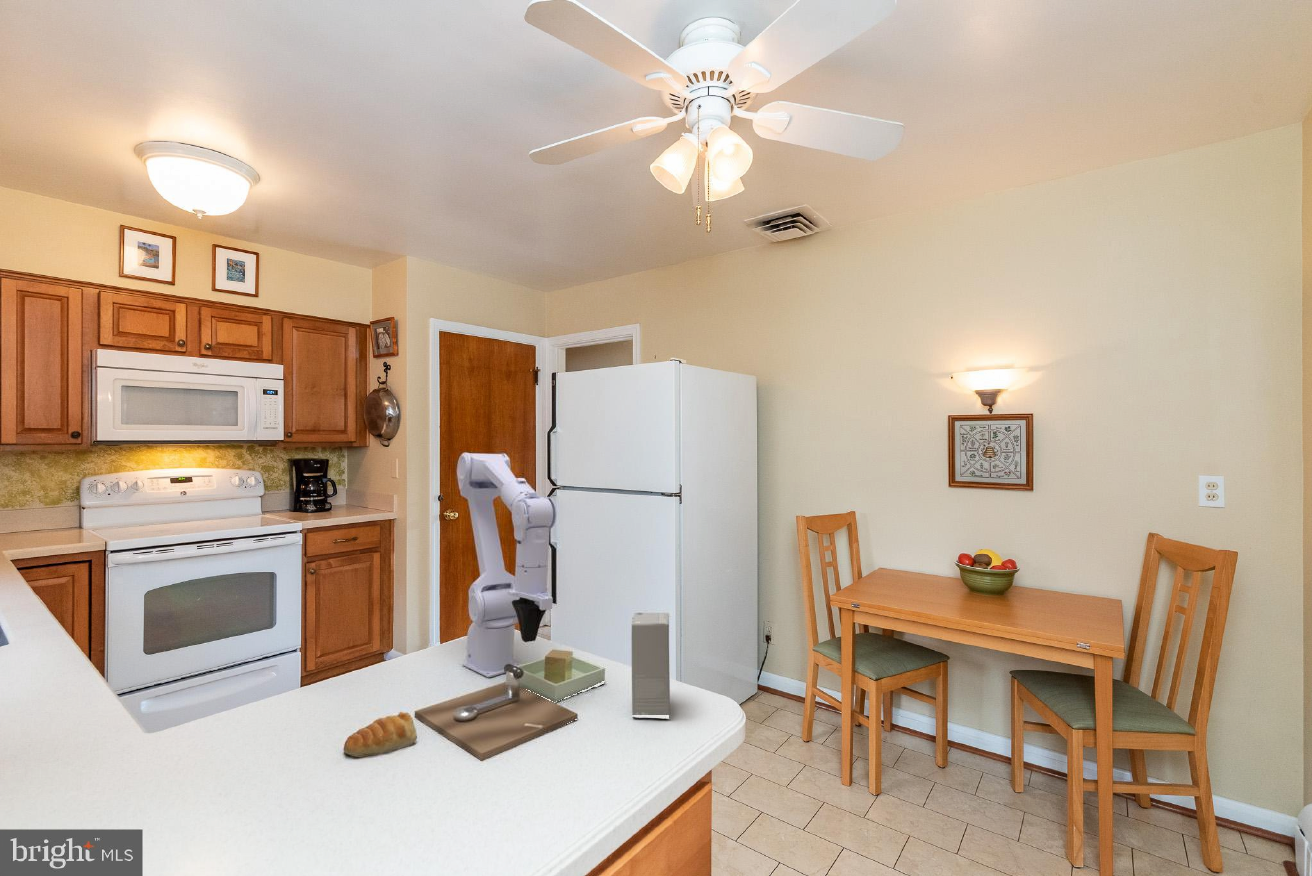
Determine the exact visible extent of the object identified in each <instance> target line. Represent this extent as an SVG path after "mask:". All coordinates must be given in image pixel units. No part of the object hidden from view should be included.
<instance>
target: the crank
mask: <svg viewBox="0 0 1312 876" xmlns="http://www.w3.org/2000/svg"><path fill="white" fill-rule="evenodd" d="M504 672H505V673H504V674H505V675H506V677H505V682H506V694H505V695H503V696H500V697H497V698H495V699H492V700H489V701H486V702H483V703H480V704H477V705H474V706H463V707H459V708H457V709H455V710H454V715H453V718H454V719H455V720H458V721H468V720H472V719H474V718H476V717H477V714H480V713H482V712H485V711H488V710H491V709H494V708H497V707H499V706H502V705H505V704H508V703H511V702H513V701H516V700H519V699H520V681H521V678H522V677H523V675H524V671H523V670H522V669H521V668H518V667H516V666H514V665H512V664H506V665H505V666H504Z"/></svg>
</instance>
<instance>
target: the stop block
mask: <svg viewBox="0 0 1312 876" xmlns="http://www.w3.org/2000/svg"><path fill="white" fill-rule="evenodd" d="M573 653H574V651H570V650H561V649H551V650H550V651H549V652H548V653H547V654H546V655H545V656H544V658H545V669H544V679H545V680H548V681H550V682H552V683H554V684H558V683H561V682H564V681H567V680H569V679H571V678H572V658H573V656H574V655H573Z"/></svg>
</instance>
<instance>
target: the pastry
mask: <svg viewBox="0 0 1312 876" xmlns="http://www.w3.org/2000/svg"><path fill="white" fill-rule="evenodd" d="M416 729H417V728H416V726H415V724H414V720H413V717H412V716H411V714H410V713H409V712H403V711H400V712H398V714H397V715H388V716H385V717H379V718H377V719H375V720H374V721H372V723H369V724H368V725H367V726H365V727H361V728H359V729H358V730H357V731H356V732H353V733H352V734H351V735H349V736H348V737H347V738H346V740H345V741H344V744H343V748H342V749H343V752H344V753H345V754H347V755H349V756H353V757H356V758H361V757H365V756H375V755H383V754H386V753H389V752H393V751H396V750H400V749H403V748H406V747H408V746H411V745H413V744H414V743H415V741H417V738H418V735H417V730H416Z"/></svg>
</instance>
